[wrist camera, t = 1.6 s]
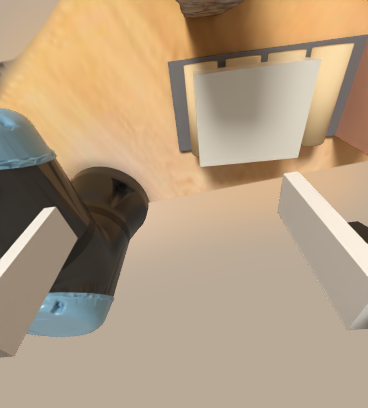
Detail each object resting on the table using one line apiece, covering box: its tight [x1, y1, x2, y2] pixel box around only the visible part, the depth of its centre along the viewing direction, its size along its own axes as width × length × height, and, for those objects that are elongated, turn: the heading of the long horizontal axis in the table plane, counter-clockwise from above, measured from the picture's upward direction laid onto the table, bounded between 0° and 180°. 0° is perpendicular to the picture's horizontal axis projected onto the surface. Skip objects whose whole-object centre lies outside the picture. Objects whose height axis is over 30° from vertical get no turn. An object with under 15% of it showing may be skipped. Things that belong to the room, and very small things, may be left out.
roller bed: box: [168, 35, 368, 156], centre depth 27 cm, size 27×12×5 cm, turn 96°
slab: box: [193, 57, 322, 167], centre depth 24 cm, size 12×10×4 cm
